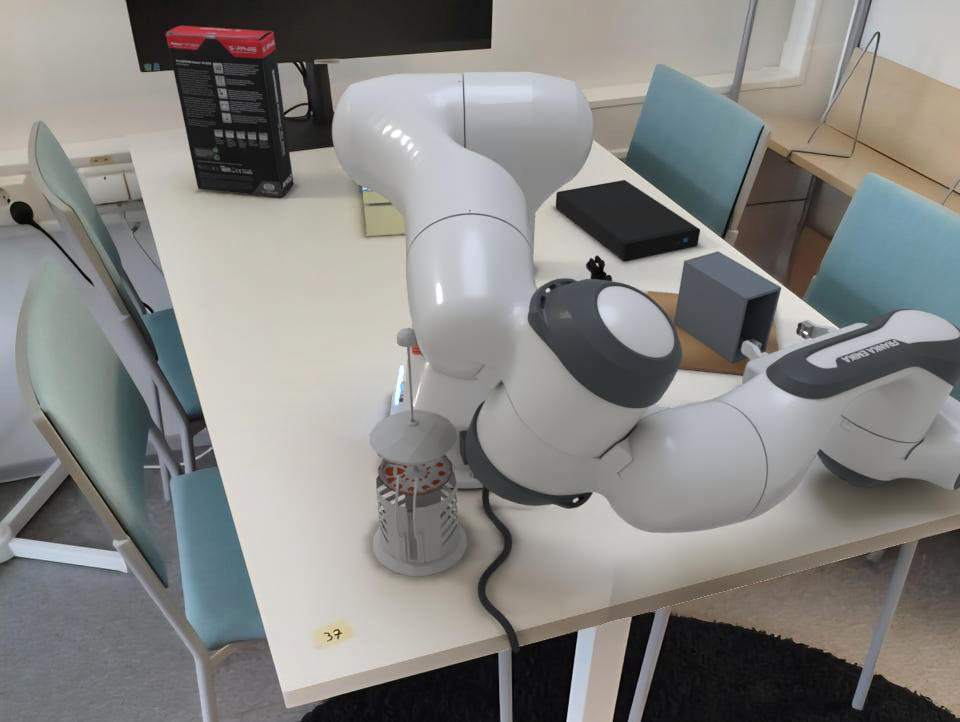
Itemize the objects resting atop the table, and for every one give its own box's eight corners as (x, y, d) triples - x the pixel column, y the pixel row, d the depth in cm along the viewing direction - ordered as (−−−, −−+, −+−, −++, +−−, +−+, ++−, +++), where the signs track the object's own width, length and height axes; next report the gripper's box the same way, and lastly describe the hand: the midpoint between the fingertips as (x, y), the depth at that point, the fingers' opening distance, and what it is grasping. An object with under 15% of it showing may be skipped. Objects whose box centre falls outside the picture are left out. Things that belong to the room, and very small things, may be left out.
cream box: (451, 231, 147) (450, 171, 140) (363, 236, 145) (358, 175, 138) (426, 141, 181) (424, 89, 174) (355, 144, 179) (350, 92, 173)
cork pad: (781, 379, 112) (782, 375, 112) (642, 364, 115) (642, 361, 114) (770, 304, 127) (771, 301, 127) (647, 293, 130) (648, 290, 129)
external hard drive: (623, 195, 159) (625, 179, 157) (697, 246, 142) (700, 228, 140) (555, 208, 154) (556, 192, 152) (623, 261, 138) (625, 244, 136)
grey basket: (765, 351, 116) (781, 287, 110) (731, 363, 114) (746, 298, 108) (706, 313, 124) (718, 251, 118) (673, 323, 122) (684, 260, 116)
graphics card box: (297, 185, 162) (275, 26, 145) (284, 199, 157) (260, 36, 140) (211, 179, 165) (180, 22, 147) (196, 193, 159) (161, 32, 142)
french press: (471, 511, 92) (470, 303, 76) (460, 593, 83) (456, 376, 67) (380, 506, 93) (360, 299, 77) (360, 586, 84) (332, 370, 68)
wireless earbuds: (612, 298, 129) (616, 267, 125) (597, 301, 128) (600, 269, 125) (591, 277, 134) (594, 247, 131) (577, 280, 133) (579, 249, 130)
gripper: (787, 437, 99) (706, 378, 108) (909, 387, 106) (824, 336, 116) (800, 391, 95) (715, 334, 104) (926, 343, 102) (836, 294, 112)
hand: (773, 335), depth 110 cm, fingers open, 8 cm apart
